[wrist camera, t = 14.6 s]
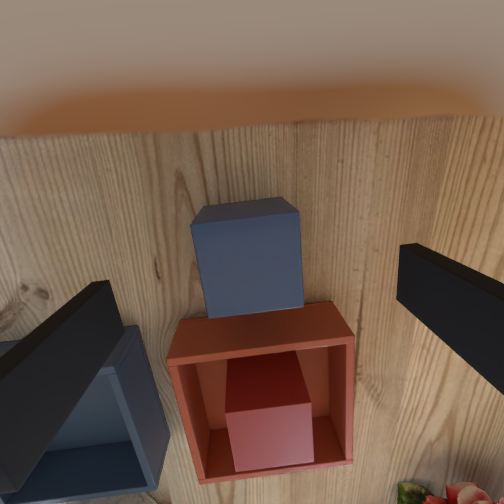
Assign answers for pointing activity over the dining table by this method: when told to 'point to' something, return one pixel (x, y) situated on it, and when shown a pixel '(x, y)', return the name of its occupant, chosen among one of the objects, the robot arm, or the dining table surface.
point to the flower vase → (459, 494)
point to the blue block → (249, 256)
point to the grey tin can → (120, 499)
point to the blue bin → (104, 435)
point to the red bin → (257, 343)
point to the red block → (268, 411)
